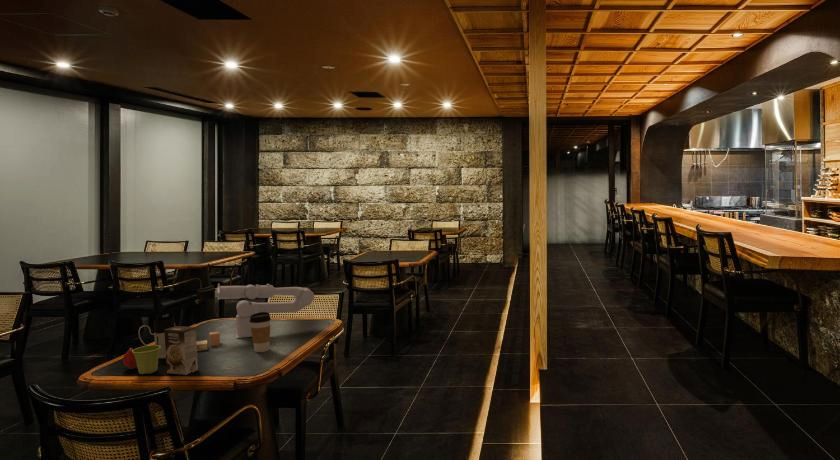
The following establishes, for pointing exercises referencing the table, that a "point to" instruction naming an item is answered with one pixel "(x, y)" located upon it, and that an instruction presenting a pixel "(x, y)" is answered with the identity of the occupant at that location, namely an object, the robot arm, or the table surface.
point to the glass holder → (160, 333)
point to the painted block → (214, 338)
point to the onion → (129, 359)
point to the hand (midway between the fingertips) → (197, 293)
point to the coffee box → (181, 350)
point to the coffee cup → (260, 331)
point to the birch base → (202, 345)
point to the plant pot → (147, 358)
